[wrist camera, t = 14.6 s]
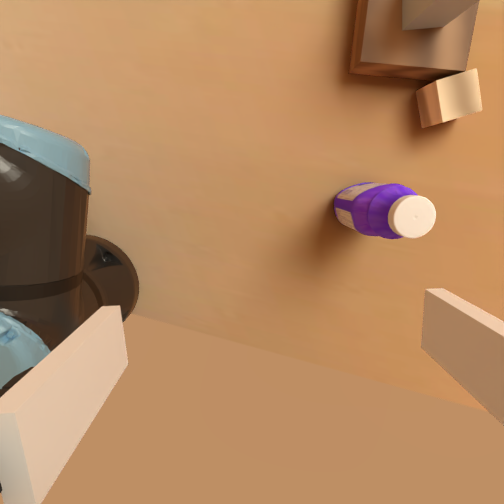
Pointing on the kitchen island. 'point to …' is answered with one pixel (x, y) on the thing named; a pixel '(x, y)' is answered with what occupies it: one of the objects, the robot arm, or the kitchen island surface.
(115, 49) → the kitchen island surface
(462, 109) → the maple cube
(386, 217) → the bottle
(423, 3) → the pale gray block
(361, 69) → the walnut block
